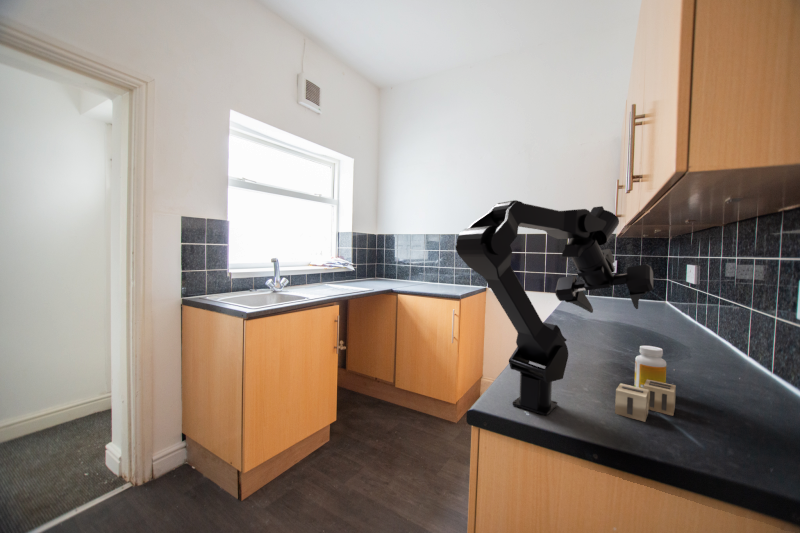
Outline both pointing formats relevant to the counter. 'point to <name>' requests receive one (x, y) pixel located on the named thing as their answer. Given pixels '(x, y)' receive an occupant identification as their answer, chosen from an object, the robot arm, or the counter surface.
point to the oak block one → (632, 402)
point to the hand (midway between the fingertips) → (613, 309)
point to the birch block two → (661, 396)
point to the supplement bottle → (649, 366)
